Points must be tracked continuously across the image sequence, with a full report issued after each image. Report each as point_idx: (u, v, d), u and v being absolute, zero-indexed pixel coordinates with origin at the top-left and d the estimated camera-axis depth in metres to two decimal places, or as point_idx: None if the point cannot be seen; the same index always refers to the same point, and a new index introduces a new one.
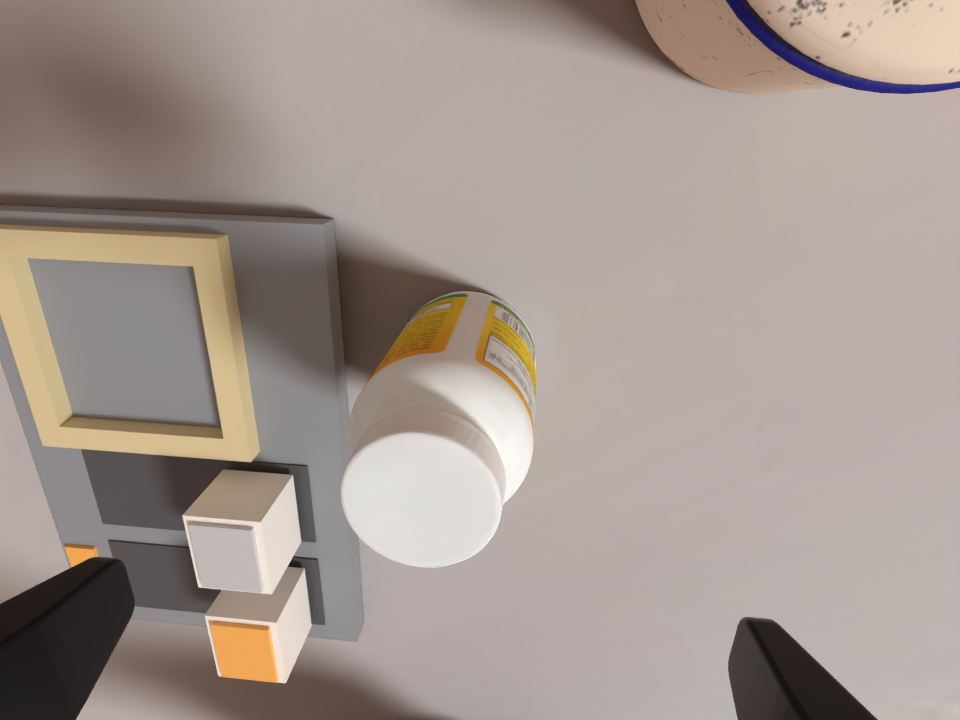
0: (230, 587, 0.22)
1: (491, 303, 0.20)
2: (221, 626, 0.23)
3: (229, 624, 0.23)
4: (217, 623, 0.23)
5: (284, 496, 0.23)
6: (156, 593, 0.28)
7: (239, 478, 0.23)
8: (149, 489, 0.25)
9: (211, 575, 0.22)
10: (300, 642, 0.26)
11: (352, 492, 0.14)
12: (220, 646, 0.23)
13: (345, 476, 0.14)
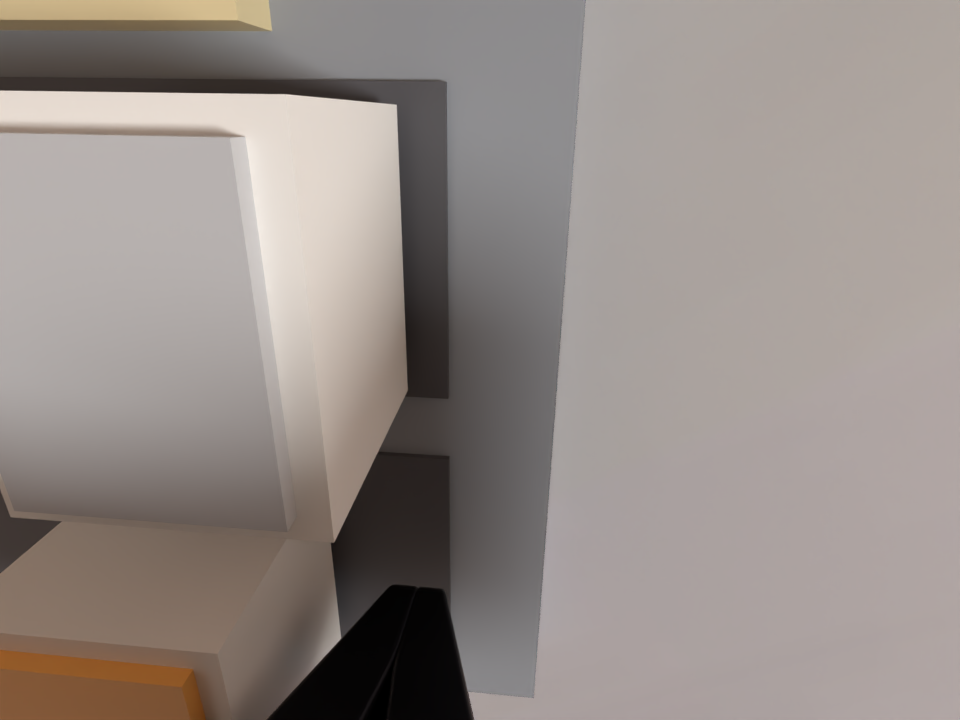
0: (142, 509, 0.05)
1: None
2: (1, 669, 0.06)
3: (36, 660, 0.06)
4: None
5: (374, 144, 0.06)
6: None
7: None
8: None
9: (47, 447, 0.05)
10: None
11: None
12: None
13: None
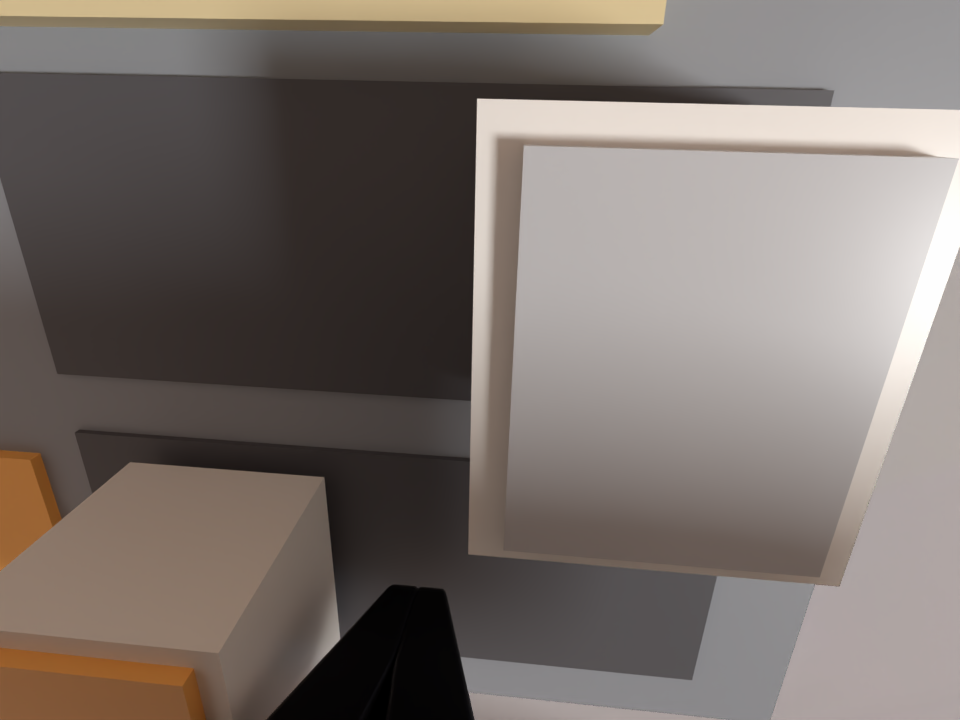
0: (657, 551, 0.04)
1: None
2: (1, 667, 0.06)
3: (36, 658, 0.06)
4: None
5: None
6: None
7: None
8: (206, 240, 0.08)
9: (574, 485, 0.04)
10: None
11: None
12: None
13: None
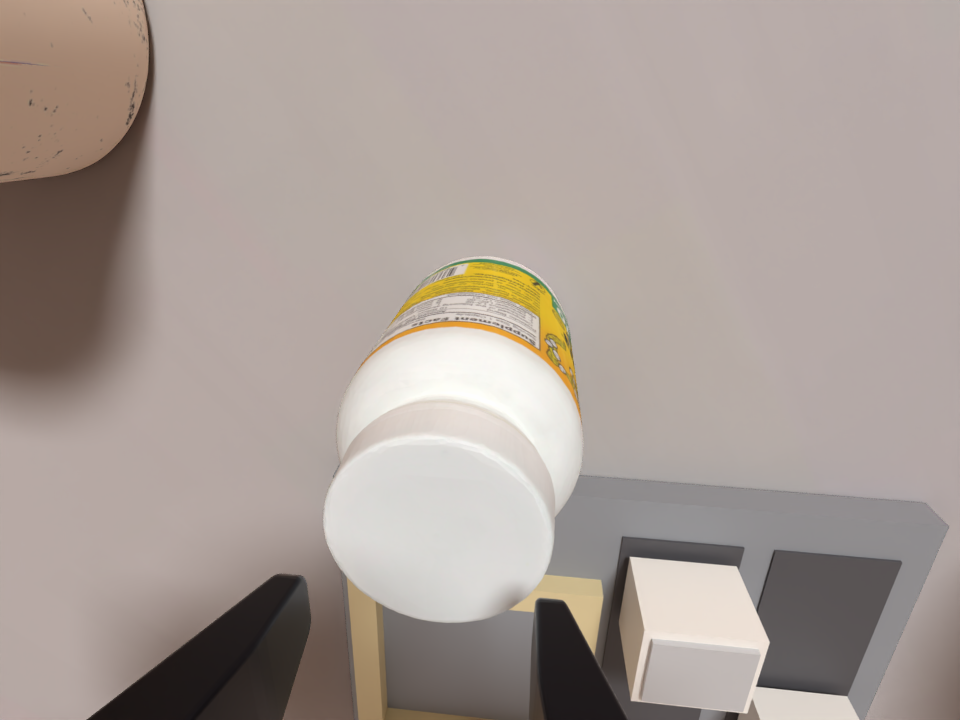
0: (747, 684, 0.17)
1: None
2: None
3: None
4: None
5: (646, 579, 0.18)
6: None
7: (624, 613, 0.20)
8: None
9: (723, 698, 0.17)
10: None
11: (425, 609, 0.10)
12: None
13: (402, 612, 0.10)
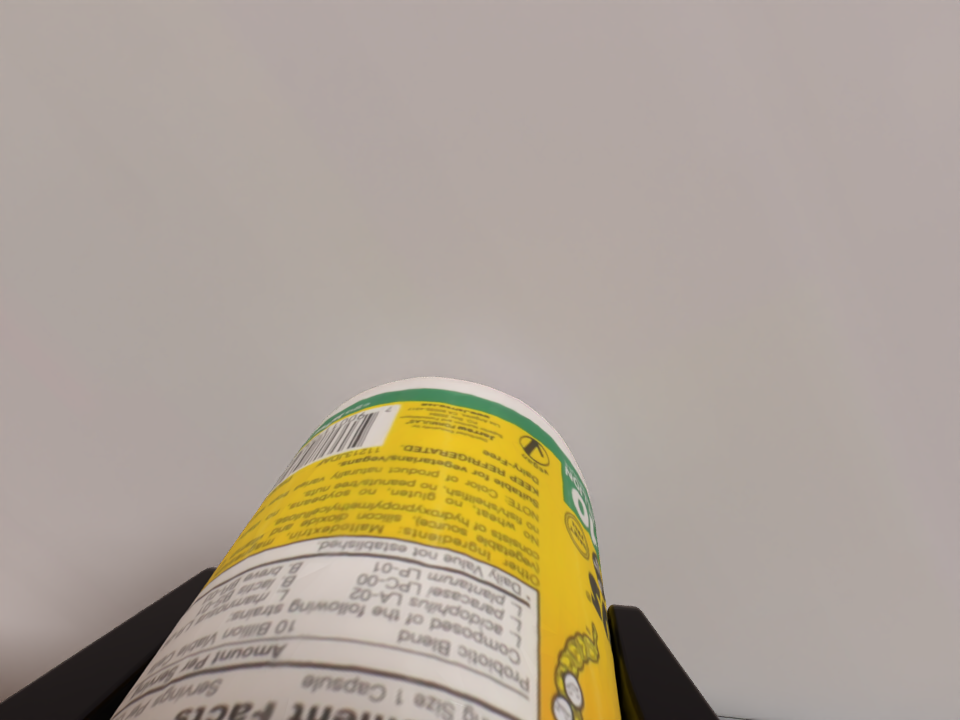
0: None
1: None
2: None
3: None
4: None
5: None
6: None
7: None
8: None
9: None
10: None
11: None
12: None
13: None
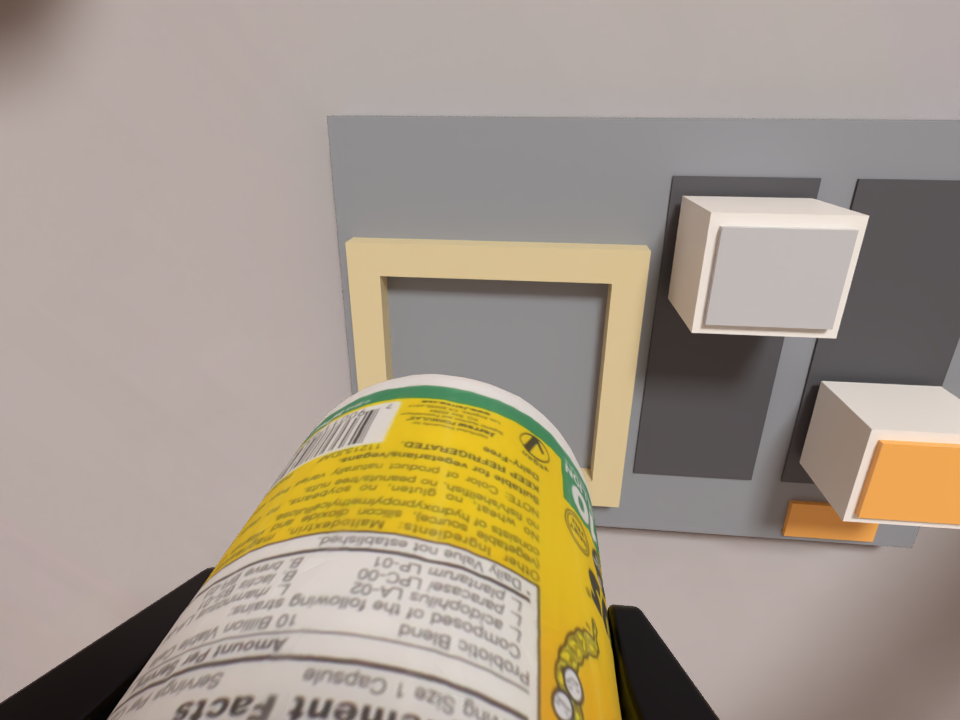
0: (839, 282, 0.13)
1: None
2: (865, 504, 0.16)
3: (865, 493, 0.16)
4: (859, 507, 0.16)
5: (705, 200, 0.15)
6: None
7: (676, 271, 0.16)
8: (701, 408, 0.19)
9: (809, 309, 0.14)
10: (954, 405, 0.16)
11: None
12: (904, 513, 0.16)
13: None
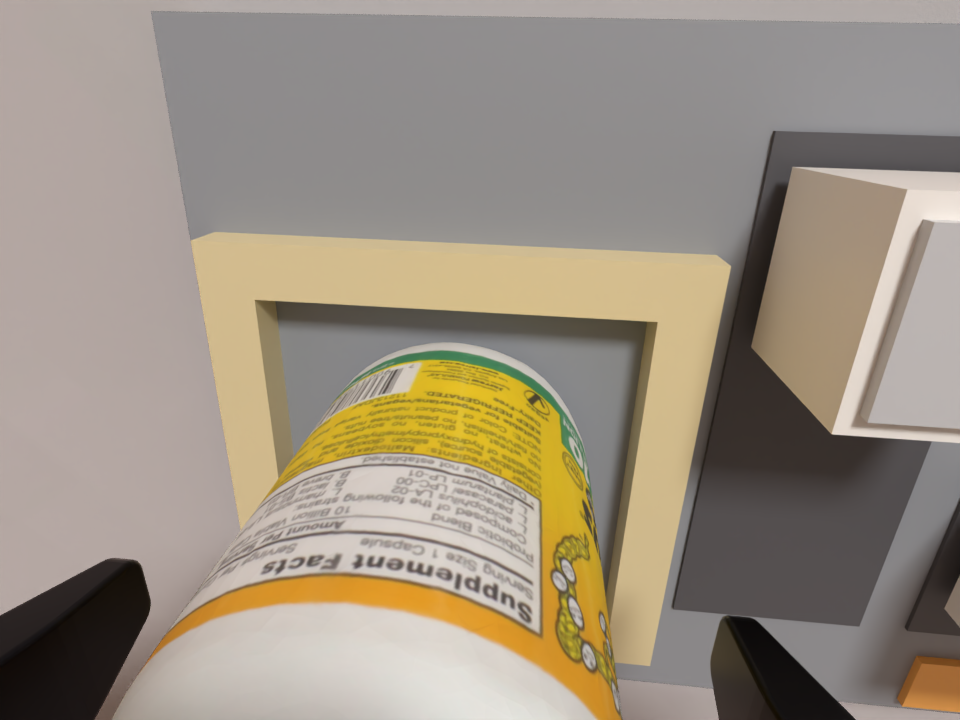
0: None
1: None
2: None
3: None
4: None
5: (849, 173, 0.08)
6: None
7: (775, 303, 0.09)
8: (788, 520, 0.12)
9: None
10: None
11: None
12: None
13: None
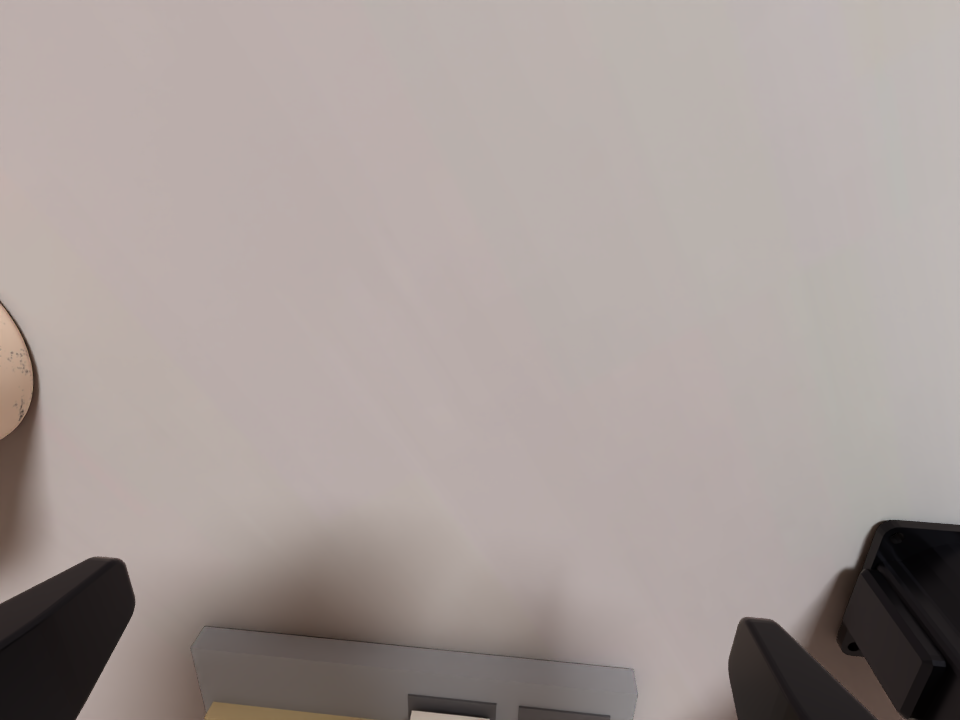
0: None
1: None
2: None
3: None
4: None
5: None
6: None
7: None
8: None
9: None
10: None
11: None
12: None
13: None
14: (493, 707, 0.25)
